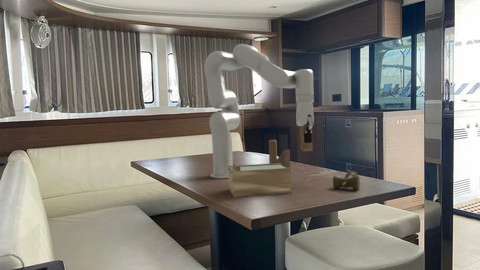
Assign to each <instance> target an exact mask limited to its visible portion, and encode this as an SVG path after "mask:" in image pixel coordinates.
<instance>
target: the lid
mask: <svg viewBox="0 0 480 270" xmlns="http://www.w3.org/2000/svg"><path fill="white" fill-rule="evenodd" d="M277 168H285V167H284V166H282V165H264V166H247V167H240V164H239V163H238V162H233V167H230V170H231V171H245V170H261V169H277Z"/></svg>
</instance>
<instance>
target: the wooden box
mask: <svg viewBox="0 0 480 270" xmlns="http://www.w3.org/2000/svg"><path fill="white" fill-rule="evenodd" d="M239 165H240V164H239ZM264 165H281V163H271V164H269V163H259V164H257V163H256V164H243V165H242V164H241V165H240V167H247V166H264ZM230 167H233V166H228V176H229V178H228V190H229V192H230V194H231V195H232V197H233V198H241V197H243V198H244V197H256V196H268V195H269V196H271V195H282V194H283V195H284V194H292V179H291V178H292V175H291V172H292V171H291V167H290V168H277V169H261V170H245V171H231V170H230Z"/></svg>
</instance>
